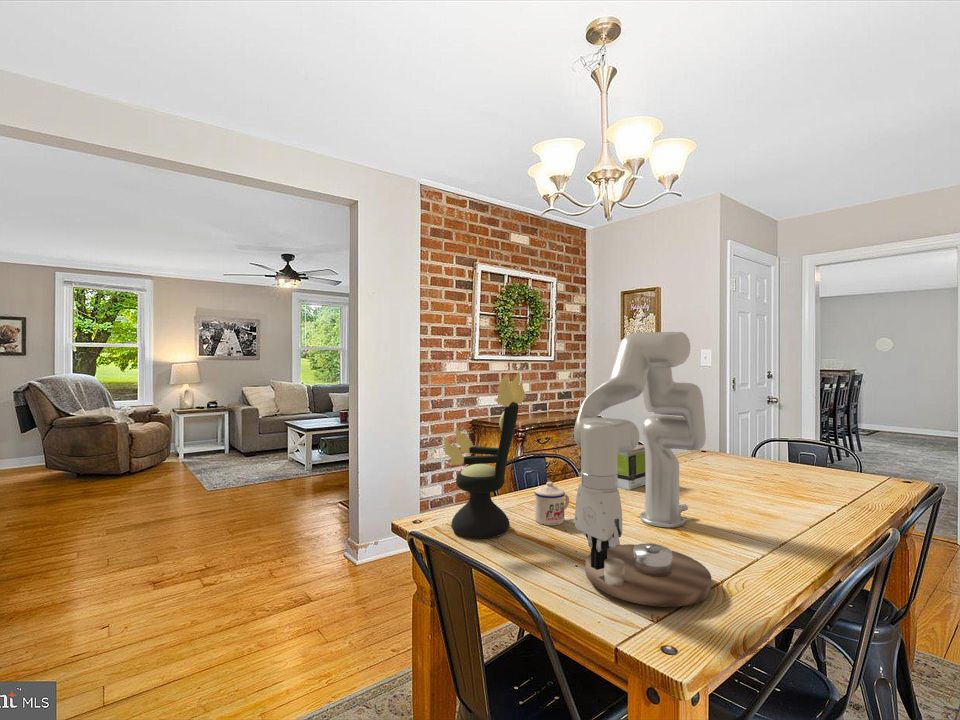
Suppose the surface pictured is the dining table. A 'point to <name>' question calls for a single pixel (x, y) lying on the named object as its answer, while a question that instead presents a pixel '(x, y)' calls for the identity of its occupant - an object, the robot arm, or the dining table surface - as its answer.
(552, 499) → the teacup with lid
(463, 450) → the toy pedestal armchair
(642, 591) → the turntable
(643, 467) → the tea box
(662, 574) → the cap
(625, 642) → the dining table surface
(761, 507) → the dining table surface
